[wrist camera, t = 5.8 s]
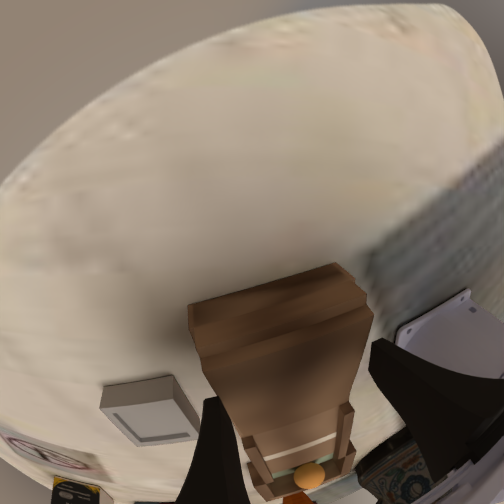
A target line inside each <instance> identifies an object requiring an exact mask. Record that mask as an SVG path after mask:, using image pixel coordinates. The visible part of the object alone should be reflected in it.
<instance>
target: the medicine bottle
mask: <svg viewBox="0 0 504 504" xmlns="http://www.w3.org/2000/svg"><path fill="white" fill-rule="evenodd" d="M51 504H114V500H113V499H112V498H111V497H110V496H109V495H107V494H106V493H105V492H104V491H103V490H102V489H101V488H100V487H99V486H95V485H90V484H86V483H81V482H77V481H73V480H69V479H66V478H62V477H59V476H55V477H54V483H53V490H52V499H51Z"/></svg>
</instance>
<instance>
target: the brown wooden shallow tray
mask: <svg viewBox="0 0 504 504" xmlns="http://www.w3.org/2000/svg"><path fill="white" fill-rule="evenodd" d="M366 300H367V294H366V293H365V292H364V291H363V290H362V289H361V288H360V287H358V286H357V285H356V284H355V278H354V277H353V276H352V275H351V274H349V273H348V272H347V271H346V270H345V269H343V268H342V267H341V266H340V265H339V264H337V263H336V262H335V263H332V264H329V265H326V266H323V267H319V268H316V269H313V270H310V271H306V272H303V273H300V274H297V275H293V276H290V277H287V278H283V279H280V280H277V281H273V282H270V283H266V284H263V285H259V286H256V287H252V288H249V289H245V290H242V291H238V292H235V293H231V294H228V295H224V296H220V297H217V298H213V299H209V300H206V301H202V302H198V303H194V304H191V305H188V325H189V331H190V333H191V336H192V338H193V340H194V343H195V345H196V350H197V352H198V354H199V357H200V360H201V366H202V371H203V373H204V375H205V377H206V379H207V380H208V382H209V384H210V385H211V387H212V388H213V390H214V392H215V393H216V395H217V396H219V397H220V399H221V401H222V403H223V405H224V407H225V409H226V411H227V413H228V415H229V416H230V418H231V420H232V422H233V424H234V426H235V428H236V430H237V431H238V433H239V435H240V437H241V439H242V443H243V447H244V450H245V452H246V453H247V455H248V457H249V458H250V460H251V462H250V463H247V465H248V469H249V472H250V476H251V479H252V483H253V486H254V488H255V489H256V490H257V492H258V493H259V494H260V495H261V496H262V497H263V498H264V499H265V501H266V502H267V501H271V500H275V499H279V498H282V497H286V496H289V495H292V494H296V493H299V492H302V491H305V490H308V489H304V488H301V487H299V486H298V485H297V484H296V483H295V481H294V472H295V470H296V469H297V468H298V467H299V466H300V465H302V464H305V463H309V462H313V463H317V464H319V465H321V466H322V467H323V469H324V471H325V478H324V480H323V482H322V483H321V484H320V485H322V484H324V483H327V482H329V481H332V480H334V479H337V478H339V477H342V476H344V475H346V474H348V473H349V472H350V470H351V467H352V464H353V461H354V458H355V455H356V449H355V448H354V446H353V444H352V442H351V441H350V434H351V429H352V424H353V418H354V412H355V411H354V409H353V407H352V406H351V404H350V403H349V395H350V390H351V387H352V385H353V382H354V379H355V376H356V374H357V371H358V368H359V365H360V362H361V359H362V355H363V352H364V349H365V346H366V342H367V339H368V336H369V332H370V329H371V325H372V321H373V318H374V314H373V312H372V311H371V310H370V308H369V307H368V306H367V305H366Z"/></svg>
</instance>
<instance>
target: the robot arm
mask: <svg viewBox="0 0 504 504" xmlns="http://www.w3.org/2000/svg"><path fill="white" fill-rule="evenodd" d="M470 295H471V290H470V289H468V288H467V289H465V290H464V291H462V292H461V293H459V294H458V295H456V296H455V297H453V298H451V299H450V300H448V301H447V302H445V303H443V304H442V305H440V306H438V307H437V308H435V309H433V310H431V311H430V312H428V313H426V314H424V315H423V316H421V317H419V318H417V319H415V320H414V321H412V322H410V323H408V324H406V325H404V326H402V327H401V328H400V329H399V330H398V332H397V336H396V341H395V344H393V343H391V342H390V341H388V340H386V339H384V338H380V339H378V340H376V341H374V342H372V345H371V353H370V361H369V368H368V371H369V373H370V375H371V376H372V378H373V380H374V382H375V383H376V385H377V387H378V388H379V389H380V391H381V392H382V393H383V394H384V396H385V397H386V398H387V400H388V401H389V402H390V403H391V405H392V406H393V407H394V409H395V410H396V411H397V412H398V414H399V415H400V416H401V418H402V419H403V421H404V422H405V424H406V425H407V427H408V429H409V430H410V432H411V434H412V436H413V438H414V440H415V441H416V443H417V445H418V447H419V449H420V452H421V454H422V456H423V458H424V460H425V463H426V465H427V468H428V471H429V473H430V476H431V479H432V480H433V482H434V483H437V482H438V481H439V480H441V479H442V478H443V477H445V476H446V475H447V476H448V478H447V479H446V480H444V481H443V482H442V483H440V484H439V485H438V486H436V487H435V488H434V489H432V490H431V491H429V492H428V493H427V494H425V495H424V496H422V497H421V498H419V499H418V500H416V501H415V502H413V503H411V504H431V503H432V502H434V501H435V500H437V499H438V498H439V497H441V496H442V495H443V494H445V493H446V492H447V491H448V490H450V489H451V488H452V487H453V488H452V492H451V493H450V494H448V495H447V496H445V497H444V498H442V499H441V500H439V501H438V502H437V503H435V504H495V503H499V502H502V501H504V323H503V322H502V321H500V320H499V319H498V318H496V317H495V316H494V315H492V314H491V313H490V312H488V311H487V310H485V309H484V308H483V307H481V306H480V305H478V304H477V303H476V302H474V301H473V300H471V299H470ZM174 504H250V501H249V498H248V494H247V491H246V488H245V484H244V480H243V475H242V470H241V464H240V458H239V452H238V446H237V440H236V436H235V432H234V429H233V425H232V422H231V419H230V417H229V415H228V413H227V411H226V409H225V407H224V405H223V403H222V401H221V399H220V397H219V396H216V397H211V398H207V399H205V400H204V402H203V413H202V420H201V426H200V431H199V436H198V441H197V445H196V449H195V452H194V456H193V460H192V463H191V466H190V469H189V472H188V474H187V477H186V480H185V482H184V484H183V487H182V489H181V491H180V493H179V495H178V497H177V499H176V501H175V503H174Z"/></svg>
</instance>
